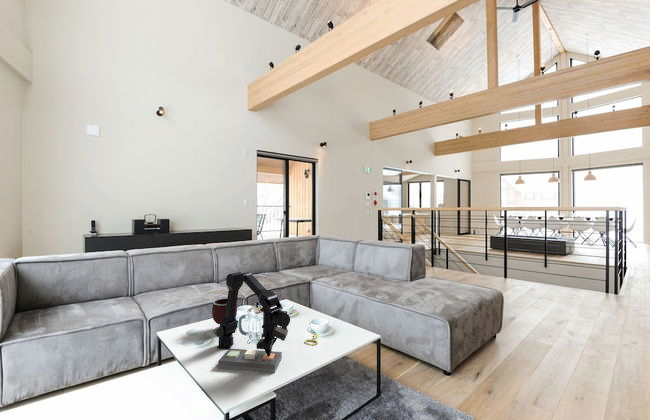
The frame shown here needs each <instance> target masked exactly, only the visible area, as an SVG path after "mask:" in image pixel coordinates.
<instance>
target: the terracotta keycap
mask: <svg viewBox="0 0 650 420" xmlns="http://www.w3.org/2000/svg"><path fill="white" fill-rule="evenodd" d="M274 358H275V354H272V353H271V354H270V356H267V354H266V353H265V355H264V356H263V360H269V361H273V360H274Z"/></svg>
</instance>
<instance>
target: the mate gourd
mask: <svg viewBox="0 0 650 420" xmlns="http://www.w3.org/2000/svg"><path fill="white" fill-rule="evenodd" d="M226 304H227V297H224V298H219V299H215V300H213V302H212V308H211V315H212V320H213V321H214V323H215V324H217V325H219V326H217V327H215V328H214V329H212V330H213V334H215V335H216V333H215V332H216V331H217V329H218V328H219V327H220V323H221V320H222V319H223V318H224V316H225V311H226ZM237 313H238V304H237V305H236V312H235V318H236V319H237V315H238V314H237Z"/></svg>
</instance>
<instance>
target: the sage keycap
mask: <svg viewBox="0 0 650 420" xmlns="http://www.w3.org/2000/svg"><path fill="white" fill-rule="evenodd" d="M239 355H240V351H230V352H229V353H228V354H227V358H237V357H238V356H239Z"/></svg>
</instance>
